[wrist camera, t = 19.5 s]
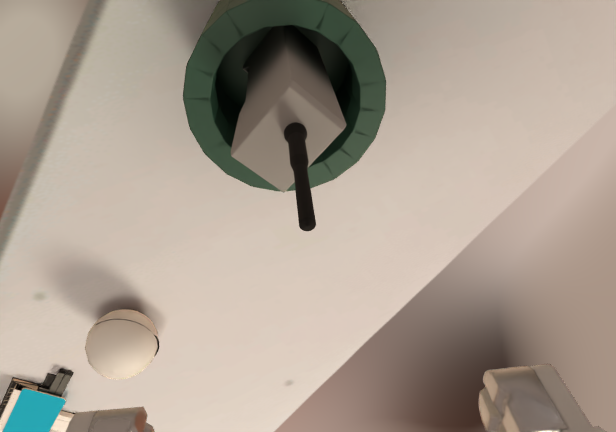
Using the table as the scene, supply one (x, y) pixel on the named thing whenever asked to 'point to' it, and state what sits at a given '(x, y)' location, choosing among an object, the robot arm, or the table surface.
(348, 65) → the green hollow cylinder
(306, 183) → the vintage mobile phone
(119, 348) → the cream domed seamed part
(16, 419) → the phone stand
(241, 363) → the table surface
